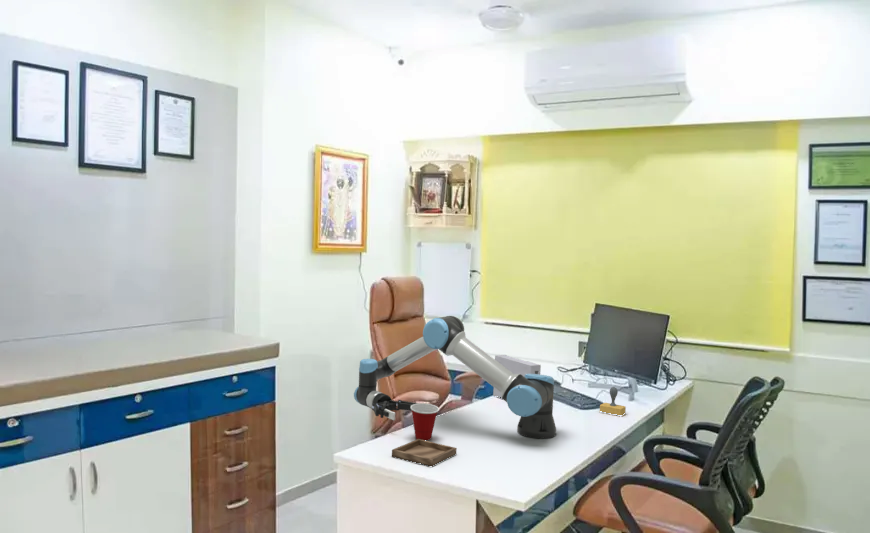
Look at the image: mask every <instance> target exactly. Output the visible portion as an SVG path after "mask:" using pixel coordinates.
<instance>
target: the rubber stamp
mask: <svg viewBox="0 0 870 533" xmlns="http://www.w3.org/2000/svg"><path fill="white" fill-rule="evenodd" d="M618 392H619V391H618V388H617V387H615V386H612V387H611V388H610V389H609V394H610V399H611V402H610V403H609V402H603V403H601V404H600V405H599V412H600V411H602V412H606V413H611V414H617V415H623V414H624V413H625V414H626V408H627V407H626V406H624V405H620V404H616V402H615V401H616V399H617V396H618ZM623 416H624V415H623Z"/></svg>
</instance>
